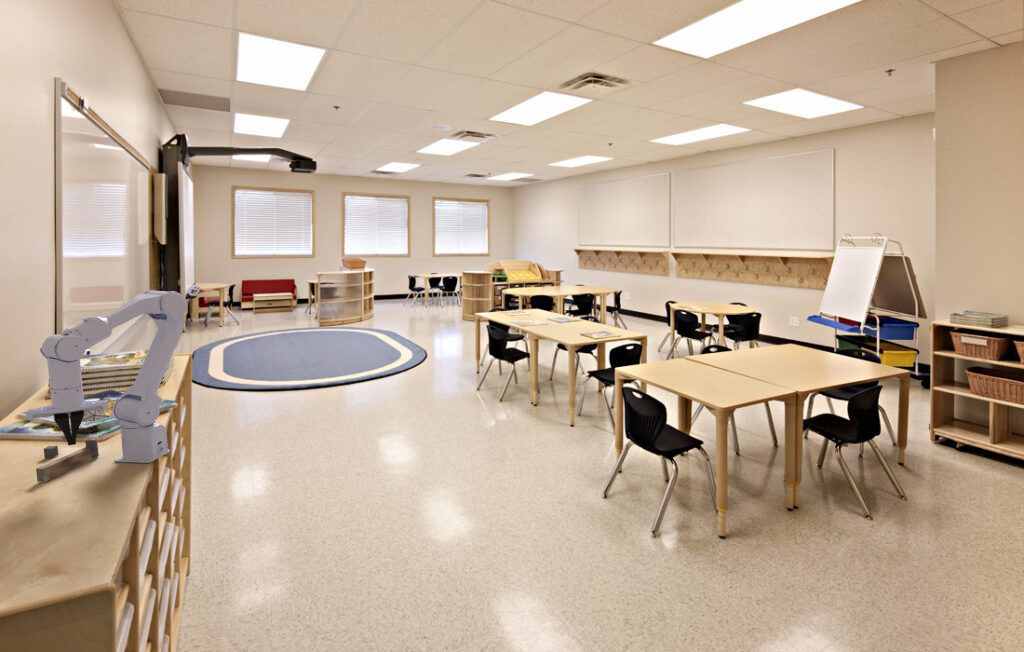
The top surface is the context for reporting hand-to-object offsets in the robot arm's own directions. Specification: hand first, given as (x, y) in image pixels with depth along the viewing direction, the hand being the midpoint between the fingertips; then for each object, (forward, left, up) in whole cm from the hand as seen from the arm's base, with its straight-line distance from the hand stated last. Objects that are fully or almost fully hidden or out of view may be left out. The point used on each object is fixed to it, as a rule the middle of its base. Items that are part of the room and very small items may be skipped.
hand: (72, 443), depth 126 cm
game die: (+25, -34, -9) cm, 43 cm away
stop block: (+17, -12, -9) cm, 23 cm away
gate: (+6, -5, -8) cm, 11 cm away
